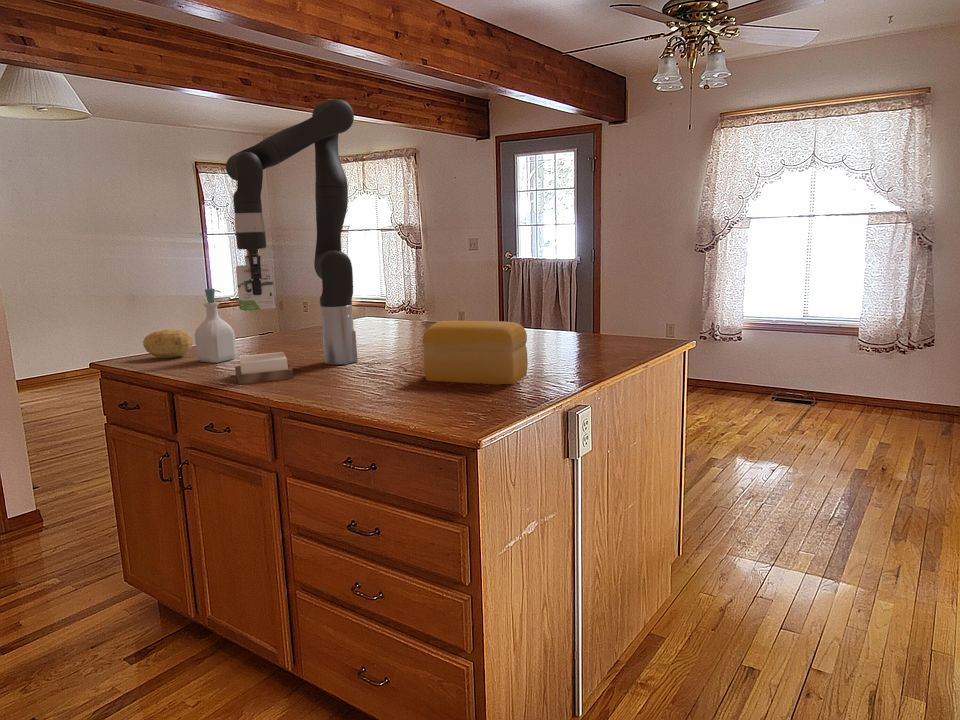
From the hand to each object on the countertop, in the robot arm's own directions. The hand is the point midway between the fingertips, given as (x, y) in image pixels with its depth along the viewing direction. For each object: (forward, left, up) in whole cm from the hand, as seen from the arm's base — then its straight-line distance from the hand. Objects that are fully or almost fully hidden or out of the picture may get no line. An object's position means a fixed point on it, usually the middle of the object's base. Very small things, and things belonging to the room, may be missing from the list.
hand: (256, 293), depth 186 cm
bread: (-50, +33, -23) cm, 64 cm away
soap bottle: (+11, -34, -23) cm, 42 cm away
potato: (+25, -49, -23) cm, 60 cm away
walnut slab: (0, 0, -23) cm, 23 cm away
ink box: (0, 0, -4) cm, 4 cm away
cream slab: (0, 0, -20) cm, 20 cm away
